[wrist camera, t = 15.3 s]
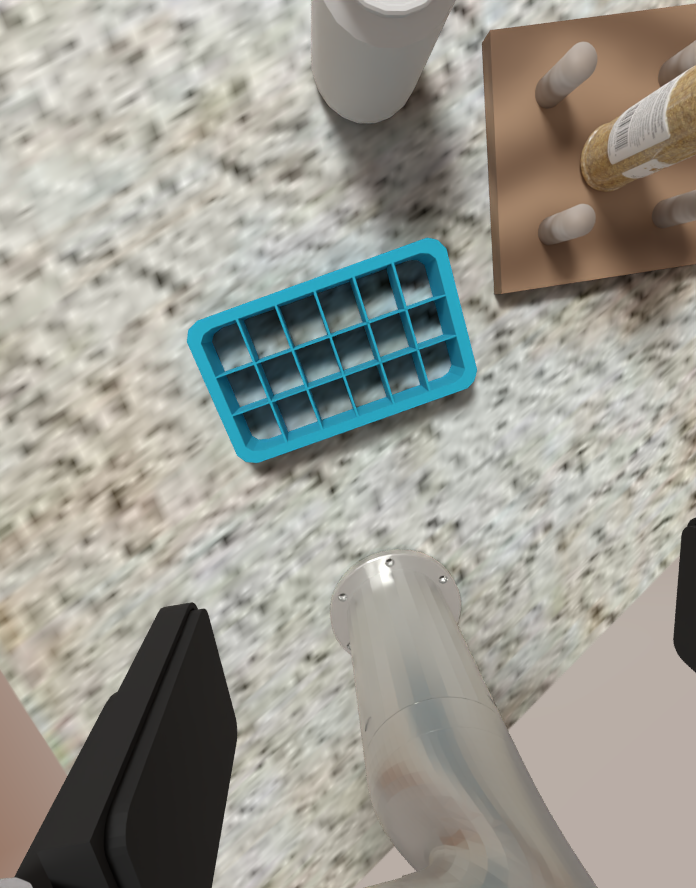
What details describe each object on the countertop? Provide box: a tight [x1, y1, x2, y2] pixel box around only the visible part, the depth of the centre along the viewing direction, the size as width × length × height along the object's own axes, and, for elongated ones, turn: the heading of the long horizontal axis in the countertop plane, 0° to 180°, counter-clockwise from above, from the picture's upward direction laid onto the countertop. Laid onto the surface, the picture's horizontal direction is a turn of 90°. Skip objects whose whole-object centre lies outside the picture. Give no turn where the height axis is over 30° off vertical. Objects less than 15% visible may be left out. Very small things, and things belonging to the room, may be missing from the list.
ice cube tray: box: [187, 238, 477, 463], centre depth 36 cm, size 12×20×3 cm, turn 109°
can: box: [311, 0, 455, 123], centre depth 26 cm, size 8×8×12 cm
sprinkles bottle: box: [580, 65, 696, 192], centre depth 27 cm, size 5×5×14 cm
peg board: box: [482, 4, 696, 294], centre depth 32 cm, size 17×17×6 cm
